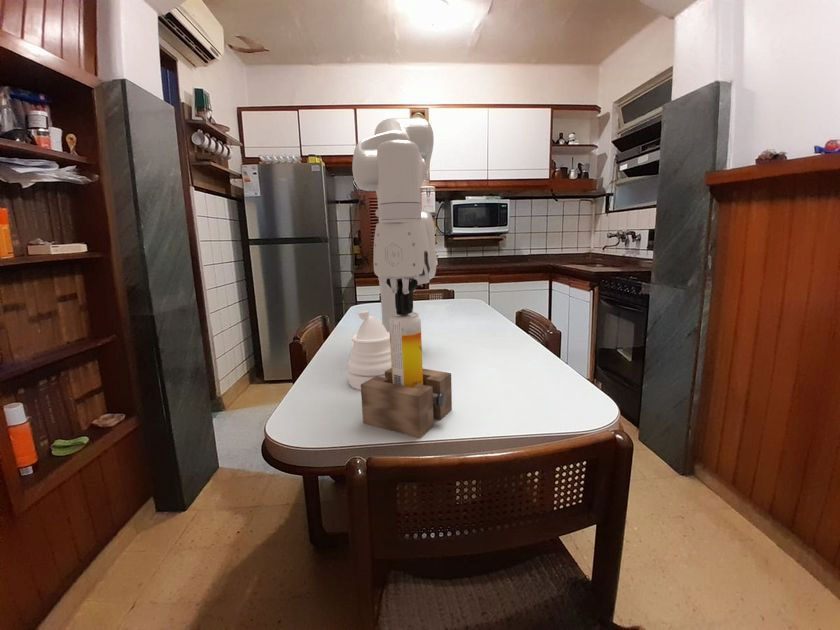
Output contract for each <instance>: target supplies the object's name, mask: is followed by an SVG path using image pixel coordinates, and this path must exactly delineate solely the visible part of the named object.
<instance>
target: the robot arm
mask: <svg viewBox="0 0 840 630" xmlns="http://www.w3.org/2000/svg"><path fill="white" fill-rule="evenodd" d="M434 136H435V135H434V131H433V127H432V125H431V123H430V121H428V120H427V119H425V118H422V117H410V118H409V117H395V118H394V117H393V118H386V119H384V120H381V121H380V122H379V123H378V124H377V126H376V128H375V130H374V135H372V136H370V137H367V138H364V139H362V140H360V141H359V142H358V143H356V146H355V148H354V151H353V157H352V168H351V171H352V175H353V180H354V183H355V185H356V186H357V187H358V189H360V190H363V191H364V192H366V191H367V192H370V191H371V192H374V191H375V192H376V194H375V195H376V196H377V197H376V198H377V209H376V210H375V213H374V214H375V216H376V217H377V218H378V223H375V224H376V225H375V231H374V236H373V237H374V238H373V272H374V275H375V276H377V277H378V278H377V279H378V281H379V282H378V283H379V291H380V292H379V293H380V303H381V304H380V307H381V308H380V309H381V323H382V324H383V325H384V327H385V329H386V331H387V332H389V333H390V331H389V320H390V317H391V315H392V314H394V313H397V315H401V314H402V315H407V314H410V313H412V312H414V296H413V295H414V294H413V293H414V292H416V290H417V288H418V287H419V286H421V285H423V284H424V285H425V284H428V283H430V281H431V280H432V279H433V278H434V277H435V276H436V272H437V256H436V255H437V254H436V236H435V224H434V223H435V222H434V218H433V215H432V213H430V212H429V211H427V210H425V209H424V210H423V209H422V203H421V202H422V201H421V199H422V195H421V194H422V192H421V186H422V185H423V183H424V182H425V180H426V177H427V173H428V170H429V169H430V165H431V164H430V163H431V160H432V155H433V150H434V142H435V141H434Z"/></svg>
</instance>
